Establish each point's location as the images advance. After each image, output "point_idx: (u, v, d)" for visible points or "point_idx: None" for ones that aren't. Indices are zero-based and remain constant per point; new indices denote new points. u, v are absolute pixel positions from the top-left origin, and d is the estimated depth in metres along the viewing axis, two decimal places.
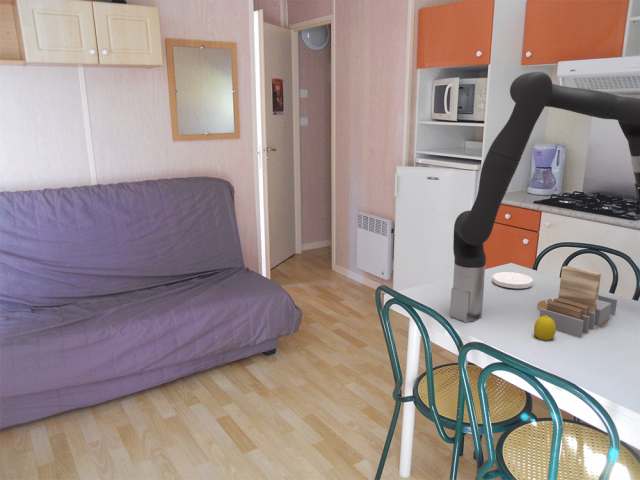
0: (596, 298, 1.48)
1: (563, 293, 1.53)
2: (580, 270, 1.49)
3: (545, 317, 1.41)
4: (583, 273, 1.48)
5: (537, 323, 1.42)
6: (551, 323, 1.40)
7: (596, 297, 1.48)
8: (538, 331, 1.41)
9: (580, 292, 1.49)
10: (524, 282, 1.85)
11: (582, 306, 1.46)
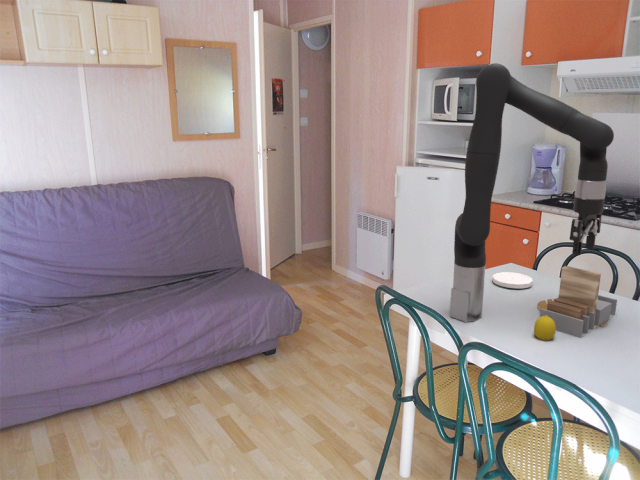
0: (596, 298, 1.48)
1: (563, 293, 1.53)
2: (580, 270, 1.49)
3: (545, 317, 1.41)
4: (583, 273, 1.48)
5: (537, 323, 1.42)
6: (551, 323, 1.40)
7: (596, 297, 1.48)
8: (538, 331, 1.41)
9: (580, 292, 1.49)
10: (524, 282, 1.85)
11: (582, 306, 1.46)
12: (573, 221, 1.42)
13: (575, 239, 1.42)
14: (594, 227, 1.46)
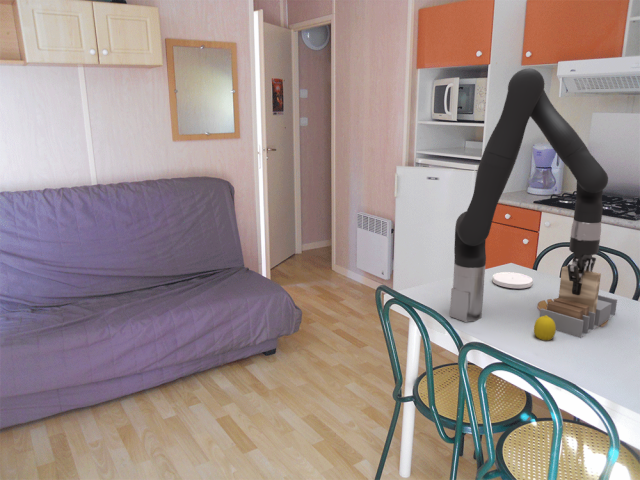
0: (596, 298, 1.48)
1: (563, 293, 1.53)
2: None
3: (545, 317, 1.41)
4: None
5: (537, 323, 1.42)
6: (551, 323, 1.40)
7: (596, 297, 1.48)
8: (538, 331, 1.41)
9: None
10: (524, 282, 1.85)
11: (582, 306, 1.46)
12: (569, 267, 1.45)
13: (574, 280, 1.47)
14: (588, 267, 1.48)
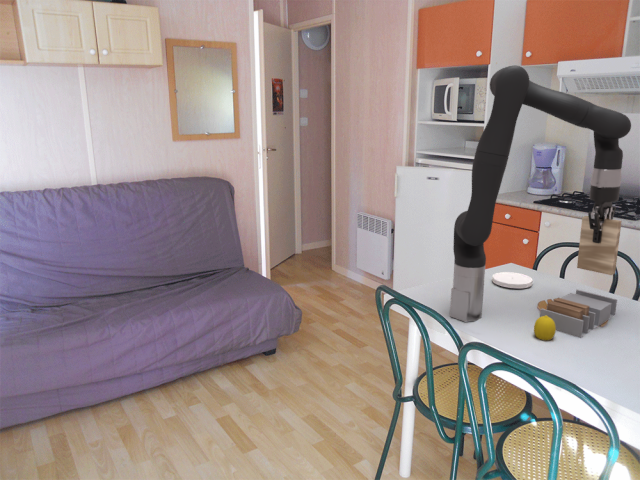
0: (617, 245, 1.50)
1: (584, 243, 1.55)
2: None
3: (545, 317, 1.41)
4: None
5: (537, 323, 1.42)
6: (551, 323, 1.40)
7: (617, 244, 1.49)
8: (538, 331, 1.41)
9: None
10: (523, 282, 1.85)
11: (582, 306, 1.46)
12: (589, 215, 1.47)
13: (595, 228, 1.49)
14: (608, 215, 1.50)
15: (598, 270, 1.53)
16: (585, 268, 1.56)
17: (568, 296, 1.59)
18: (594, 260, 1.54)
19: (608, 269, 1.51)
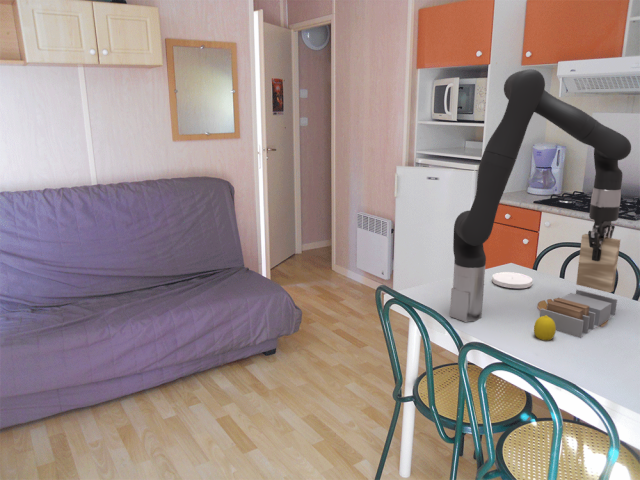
0: (615, 264, 1.53)
1: (583, 260, 1.58)
2: None
3: (545, 317, 1.41)
4: None
5: (537, 323, 1.42)
6: (551, 323, 1.40)
7: (616, 263, 1.53)
8: (538, 331, 1.41)
9: (600, 258, 1.55)
10: (523, 282, 1.85)
11: (582, 306, 1.46)
12: (589, 233, 1.50)
13: (595, 246, 1.52)
14: (607, 234, 1.54)
15: (597, 287, 1.57)
16: (584, 285, 1.59)
17: (568, 296, 1.59)
18: (593, 277, 1.57)
19: (606, 286, 1.54)
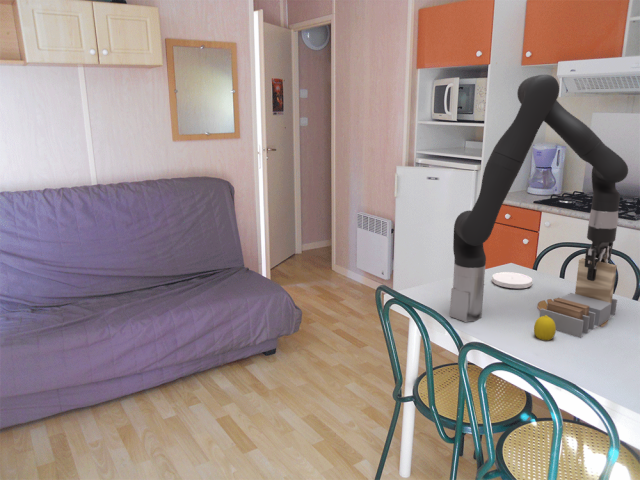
0: (612, 289, 1.55)
1: (580, 284, 1.60)
2: None
3: (545, 317, 1.41)
4: (600, 264, 1.55)
5: (537, 323, 1.42)
6: (552, 323, 1.40)
7: (612, 288, 1.55)
8: (538, 330, 1.41)
9: (596, 283, 1.57)
10: (523, 282, 1.85)
11: (582, 306, 1.46)
12: (587, 250, 1.51)
13: (590, 266, 1.52)
14: (606, 254, 1.56)
15: None
16: None
17: (568, 296, 1.59)
18: None
19: None
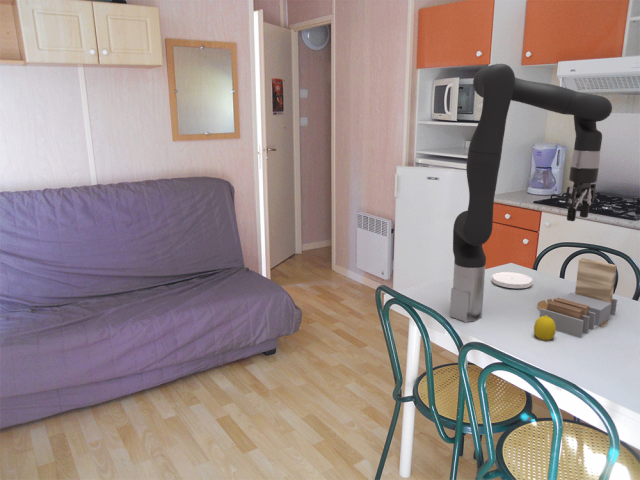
0: (612, 289, 1.55)
1: (580, 284, 1.60)
2: (597, 262, 1.56)
3: (545, 317, 1.41)
4: (600, 264, 1.55)
5: (537, 323, 1.42)
6: (552, 323, 1.40)
7: (612, 288, 1.55)
8: (538, 331, 1.41)
9: (596, 283, 1.57)
10: (523, 282, 1.85)
11: (582, 306, 1.46)
12: (568, 188, 1.51)
13: (569, 205, 1.52)
14: (588, 196, 1.56)
15: None
16: None
17: (568, 296, 1.59)
18: None
19: None
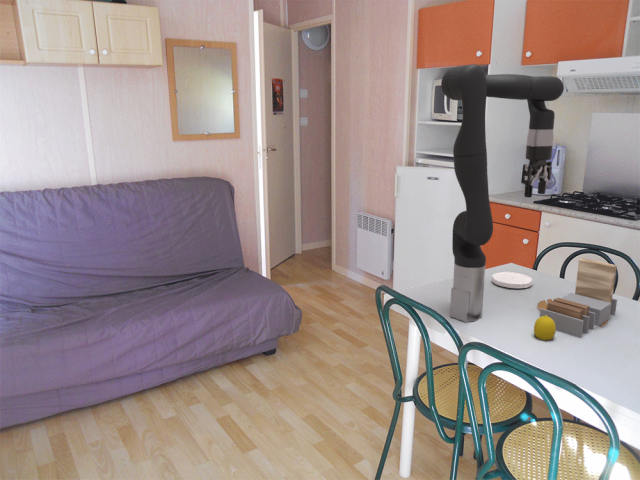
0: (612, 289, 1.55)
1: (580, 284, 1.60)
2: (597, 262, 1.56)
3: (545, 317, 1.41)
4: (600, 264, 1.55)
5: (537, 323, 1.42)
6: (551, 323, 1.40)
7: (612, 288, 1.55)
8: (538, 331, 1.41)
9: (596, 283, 1.57)
10: (523, 282, 1.85)
11: (582, 306, 1.46)
12: (524, 166, 1.58)
13: (526, 182, 1.58)
14: (544, 173, 1.63)
15: None
16: None
17: (568, 296, 1.59)
18: None
19: None
